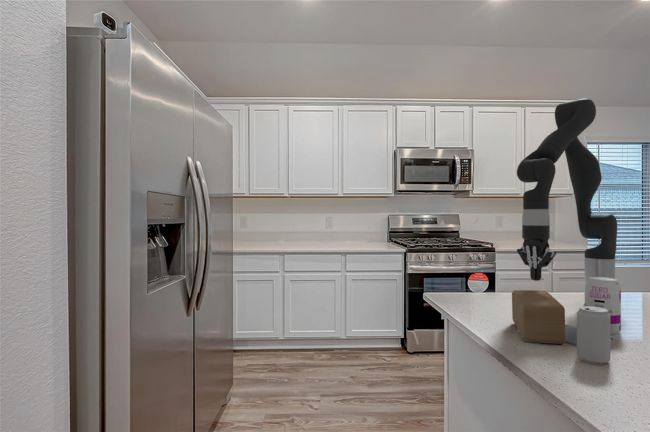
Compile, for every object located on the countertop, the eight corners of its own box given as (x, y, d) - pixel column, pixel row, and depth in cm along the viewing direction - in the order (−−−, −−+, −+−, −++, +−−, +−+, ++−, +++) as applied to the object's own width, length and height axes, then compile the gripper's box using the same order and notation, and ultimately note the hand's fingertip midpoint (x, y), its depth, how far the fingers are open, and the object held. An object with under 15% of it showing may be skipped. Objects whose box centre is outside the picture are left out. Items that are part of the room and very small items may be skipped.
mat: (553, 322, 125) (553, 321, 125) (612, 339, 109) (612, 337, 109) (518, 326, 120) (518, 325, 120) (575, 345, 104) (575, 344, 104)
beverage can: (570, 356, 96) (570, 305, 96) (596, 355, 96) (596, 304, 96) (590, 366, 90) (590, 312, 89) (617, 365, 90) (617, 311, 90)
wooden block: (548, 323, 122) (566, 345, 103) (512, 321, 125) (523, 342, 106) (547, 290, 122) (565, 306, 103) (511, 289, 125) (522, 304, 106)
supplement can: (614, 328, 118) (614, 277, 118) (625, 336, 111) (625, 281, 111) (582, 325, 121) (582, 275, 121) (590, 333, 113) (590, 280, 113)
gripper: (564, 224, 120) (563, 282, 120) (527, 223, 133) (527, 276, 133) (545, 224, 118) (545, 284, 118) (509, 223, 130) (509, 277, 130)
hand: (535, 280), depth 125 cm, fingers closed
